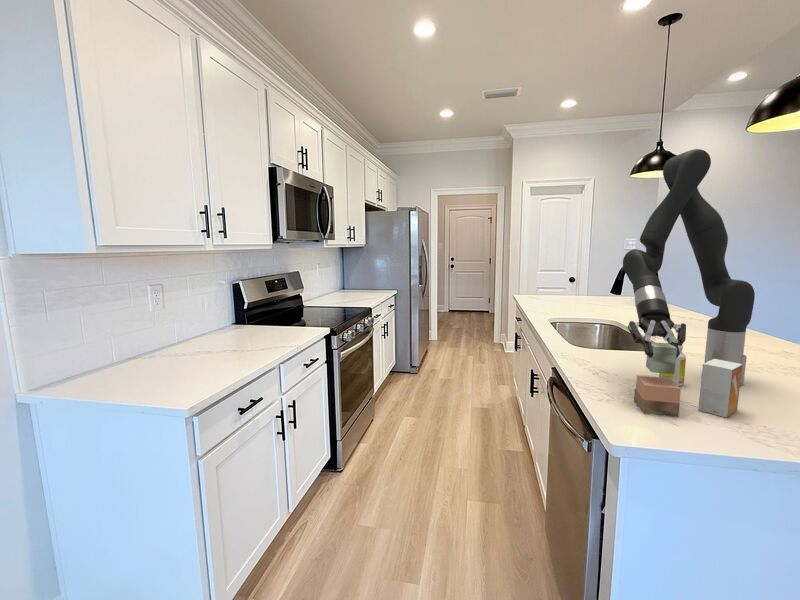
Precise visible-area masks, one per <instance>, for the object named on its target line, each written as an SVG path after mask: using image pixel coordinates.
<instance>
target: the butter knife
mask: <svg viewBox="0 0 800 600" xmlns="http://www.w3.org/2000/svg"><path fill="white" fill-rule="evenodd" d="M632 407H633V408H635V409H636V410H638V411H640V410H641V409H640V408H639V407H638V406H637V405H636V404H635V405H632ZM648 415H650V416H652V417H654V418H656V417H657V419H659V418H660V419H659V420H661V419H663V420H662V421H664V420H665V421H664V422H667V423H668V422H669V423H668V424H671V425H673V426H675V425H676V426H675V427H678V426H679V425H678V424H676V423H674V422H672V421H670V420H667V419H666V418H665V417H662V416H661V415H656V414H648Z"/></svg>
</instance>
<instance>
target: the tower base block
mask: <svg viewBox="0 0 800 600" xmlns="http://www.w3.org/2000/svg"><path fill="white" fill-rule="evenodd" d="M633 397H634V398H633V403H634V404H635V403H636V404H635V406H638V407H639V408H640V409H641V413H644V414H646V415H649V414H656V415H658V416H664V415H665V417H675V418H677V417H678V418H680V416H679V415H680V403H670V402H661V401H651V400H643V398H642V397H641V396H640V394H639V393H638V391H637V390H636V388H634V395H633Z"/></svg>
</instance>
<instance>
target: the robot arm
mask: <svg viewBox="0 0 800 600" xmlns="http://www.w3.org/2000/svg"><path fill="white" fill-rule="evenodd" d="M711 159H712V158H711V155H710V154H709V153H708V152H707V151H706V150H704V149H700V148H695V149H691V150H687V151H685V152H682V153H680V154H677V155H674V156H672V157H670V158H669V159H667V160H666V161H665V163H664V164H663V168H662V175H663V179H664V182H665V184H666V185H667V188H668V190H669V191H668V192H667V194H666V196H665V197H664V198H663V199H662V201H661V202H660V203H659V205H657V206H656V208H655V209H654V211H653V212H652V213H651V215H650V216H649V217H648V220H647V222H646V223H645V226H644V228H643V230H642V232H641V234H640V236H639V242H640V243H641V244H642V246H644V248H645V251H644V250H642V249H637V248H635V249H631V250H629V251H628V252H626V254H625V255H624V256H623V259H622V267H623V270H624V272H625V274H626V276H627V278H628V279H629V281H630V283H631V284H632V289H633V293H634V306H635V307H636V308H635V309H636V314H637V318H638V321H635V322H634V321H633V320H630V321H629V323H628V325H627V329H628V331H629V333H630V335H631V337H632V340H633V341H634V343H635V344H641V345H642V346H643V350H644V354H645V356H647V355H648V357H652V355H653V350H652V344H651V342H652V341H651V337H660V338H662V339H663V340H664V341H665V342H666V343H669V344H671V345H672V346H674V347H676V348H677V352H676V358H677V357H678V356H679V355H680V351H679V347H678V346H682V345H683V344H684V343H685V342H686V339H687V338H686V336H687V324H686V323H684V322H682V323H681V324H679V323H678V324H677V323H674V321H673V320H672V319H671V314H670V310H669V306H668V302H667V299H666V295H665V293H664V291H663V288H662V285H661V280H660V278H659V277H658V275H656V274H658V272H660V269H662V266H663V261H664V255H665V249H666V243H667V241H668V240H669V237H670V234H671V232H672V230H673V228H674V226H675V225H676V222H677V220H678V218H679V216H680V218H681V220H682V222H683V226H684V229H685V233H686V235H687V238H688V241H689V245H690V246H691V248H692V250H693V254H694V257H695V260H696V263H697V266H698V269H699V273H700V276H701V277H700V278H701V283H702V287H703V292H704V296H705V298H706V300H707V301H708V303H710V304H712V305H713V306H716V307H719V308H718V313H717V315H716V316H715V317H712V318H710V319H709V320H708V322H707V331H706V332H707V334H706V342H705V343H706V344H705V351H704V352H705V353H704V360H703V364H704V363H706V362H708V361H710V360H713V359H718V360H723V361H729V362H733V363H739V364H743V366H742V374H741V382H740V386H744V382H745V377H746V376H745V374H746V368H747V367H746V365H747V355H745V353H744V351H745V342H746V334H747V327H748V325H749V324H750V323H751V320H752V316H753V312H754V311H753V310H754V304H755V298H756V297H755V296H756V295H755V294H756V293H755V289H754V287H753V285H752V284H750V283H749V282H748V281H745V280H741V279H733V278H732V277H731V276H730V273H729V271H728V268H727V265H726V261H725V260H726V259H725V258H726V252H727V247H728V245H729V244H728V242H729V237H728V232H727V229H726V226H725V223H724V220H723V218H722V216H721V214H720V213H719V212H718V211H717V210H716V209H715V208H714V206H712V205H711V204H710V203H709V202H708V201H707V200H705V198H704V197H703V195H701V192H700V190H699V188H698V187H699V186H700V184H701V183H702V181H703V180H704V178H705V177H706V176H707V174H708V172H709V170H710V168H711V165H712V164H711V163H712V160H711ZM639 328H640V329H641V330H642V331H643V332H644V335H643V336H642V334H641V332H640V331H639ZM672 329H674V331H675V333H676V334H677V336H675V333H674V331H673V330H672Z"/></svg>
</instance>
